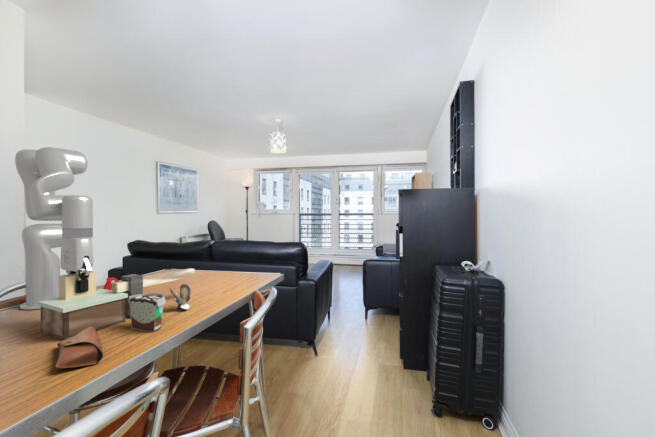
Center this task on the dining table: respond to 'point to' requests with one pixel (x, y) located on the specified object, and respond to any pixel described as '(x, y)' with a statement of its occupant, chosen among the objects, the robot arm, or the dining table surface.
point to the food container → (146, 311)
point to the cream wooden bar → (155, 279)
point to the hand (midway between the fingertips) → (78, 290)
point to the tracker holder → (110, 283)
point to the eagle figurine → (182, 297)
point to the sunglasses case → (80, 350)
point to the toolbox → (90, 314)
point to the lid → (79, 295)
